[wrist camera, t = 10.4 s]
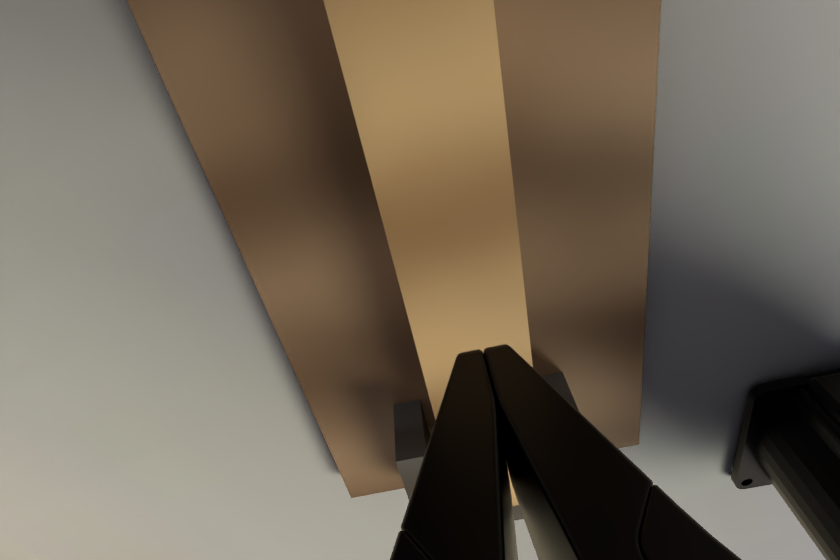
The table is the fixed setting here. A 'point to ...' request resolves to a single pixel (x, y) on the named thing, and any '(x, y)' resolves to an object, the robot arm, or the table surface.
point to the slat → (439, 170)
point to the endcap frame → (362, 224)
